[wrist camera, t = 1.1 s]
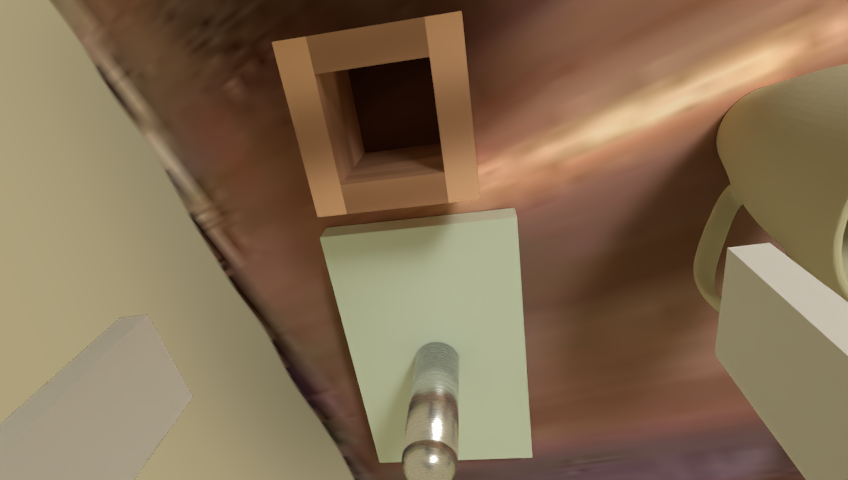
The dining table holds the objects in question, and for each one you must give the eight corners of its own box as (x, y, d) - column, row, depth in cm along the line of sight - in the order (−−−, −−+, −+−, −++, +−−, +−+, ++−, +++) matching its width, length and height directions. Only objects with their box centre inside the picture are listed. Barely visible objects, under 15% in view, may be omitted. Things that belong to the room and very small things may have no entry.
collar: (313, 38, 24) (271, 42, 19) (462, 14, 23) (461, 10, 18) (345, 179, 28) (317, 217, 22) (476, 164, 27) (480, 199, 21)
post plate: (326, 227, 29) (319, 237, 28) (514, 207, 28) (517, 217, 26) (382, 447, 37) (379, 462, 36) (529, 441, 36) (532, 457, 35)
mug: (679, 42, 23) (869, 56, 12) (887, 40, 22) (1285, 55, 12) (637, 236, 28) (749, 370, 17) (808, 240, 27) (1038, 383, 16)
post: (412, 343, 31) (393, 466, 22) (456, 340, 30) (454, 464, 22) (419, 377, 32) (403, 505, 23) (461, 375, 32) (461, 504, 23)
